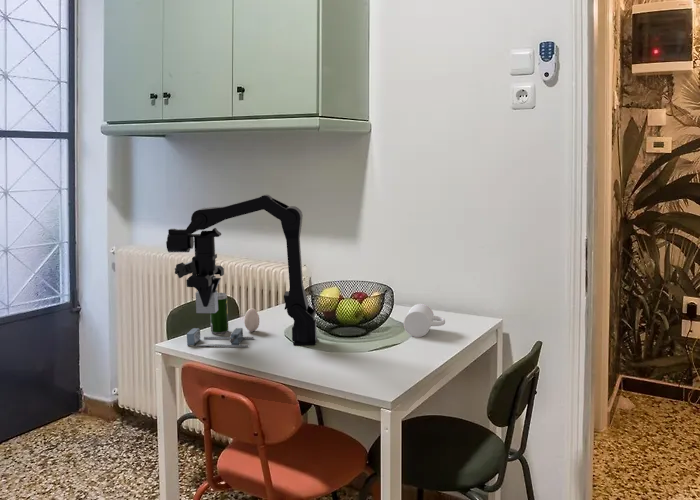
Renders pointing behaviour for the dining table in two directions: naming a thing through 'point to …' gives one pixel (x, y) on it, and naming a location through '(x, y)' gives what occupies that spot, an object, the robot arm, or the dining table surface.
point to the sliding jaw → (236, 336)
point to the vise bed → (194, 337)
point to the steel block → (212, 303)
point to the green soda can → (220, 316)
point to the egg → (251, 320)
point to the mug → (421, 320)
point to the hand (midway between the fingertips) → (207, 305)
